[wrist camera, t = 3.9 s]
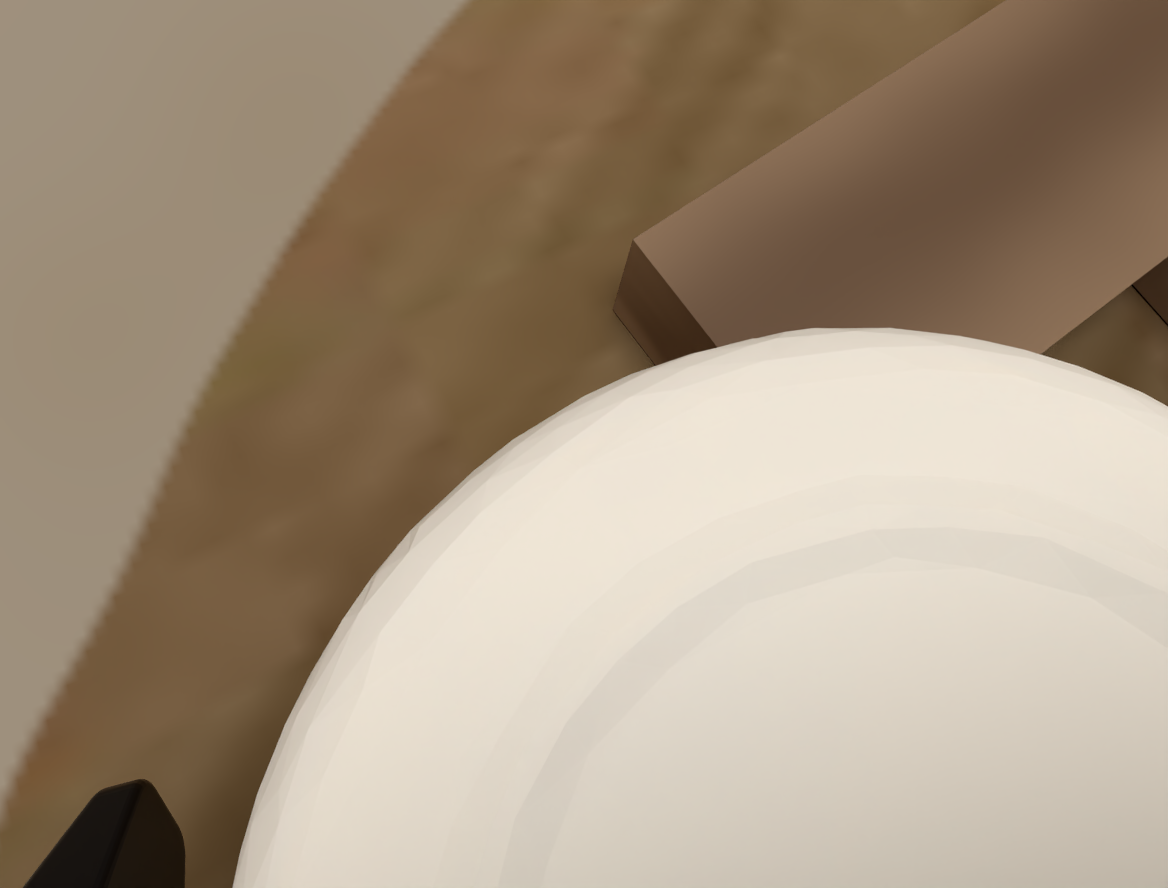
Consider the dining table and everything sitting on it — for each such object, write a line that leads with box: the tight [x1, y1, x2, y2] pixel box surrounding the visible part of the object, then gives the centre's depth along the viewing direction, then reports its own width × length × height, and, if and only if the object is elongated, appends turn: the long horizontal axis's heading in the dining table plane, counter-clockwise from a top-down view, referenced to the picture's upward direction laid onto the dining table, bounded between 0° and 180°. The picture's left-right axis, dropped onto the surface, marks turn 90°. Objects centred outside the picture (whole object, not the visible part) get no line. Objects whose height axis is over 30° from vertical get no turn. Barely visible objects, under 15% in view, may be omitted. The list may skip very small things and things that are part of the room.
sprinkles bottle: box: [233, 328, 1168, 888], centre depth 9 cm, size 5×5×13 cm
